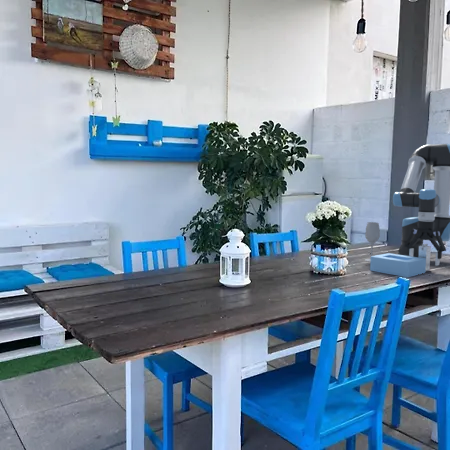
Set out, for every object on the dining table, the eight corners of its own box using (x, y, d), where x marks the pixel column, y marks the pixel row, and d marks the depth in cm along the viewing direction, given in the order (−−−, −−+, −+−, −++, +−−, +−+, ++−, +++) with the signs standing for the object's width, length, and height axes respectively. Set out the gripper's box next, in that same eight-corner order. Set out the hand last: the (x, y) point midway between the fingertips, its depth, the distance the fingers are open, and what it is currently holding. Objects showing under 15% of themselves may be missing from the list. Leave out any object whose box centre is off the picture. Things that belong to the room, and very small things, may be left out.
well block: (388, 266, 242) (388, 253, 242) (425, 272, 227) (426, 258, 226) (370, 270, 232) (370, 256, 231) (407, 277, 217) (408, 262, 216)
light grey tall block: (421, 268, 237) (423, 243, 235) (429, 270, 234) (430, 244, 232) (417, 269, 234) (419, 244, 233) (425, 271, 231) (426, 245, 230)
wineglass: (380, 261, 255) (382, 223, 253) (366, 261, 255) (367, 223, 253) (376, 259, 263) (377, 222, 260) (362, 259, 263) (364, 222, 261)
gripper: (398, 219, 238) (396, 260, 240) (447, 223, 219) (445, 267, 221) (406, 218, 243) (404, 259, 245) (455, 222, 224) (452, 266, 226)
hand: (423, 263), depth 233 cm, fingers open, 13 cm apart
